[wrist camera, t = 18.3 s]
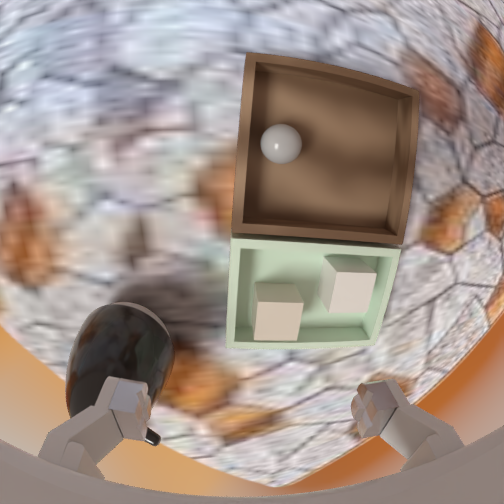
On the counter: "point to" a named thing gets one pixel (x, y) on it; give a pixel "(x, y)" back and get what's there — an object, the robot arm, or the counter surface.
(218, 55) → the counter surface
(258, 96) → the walnut crate
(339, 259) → the small beige block
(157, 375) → the black rounded cone
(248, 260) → the green tray
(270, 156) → the round pebble
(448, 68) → the counter surface
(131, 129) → the counter surface
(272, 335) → the beige cube
